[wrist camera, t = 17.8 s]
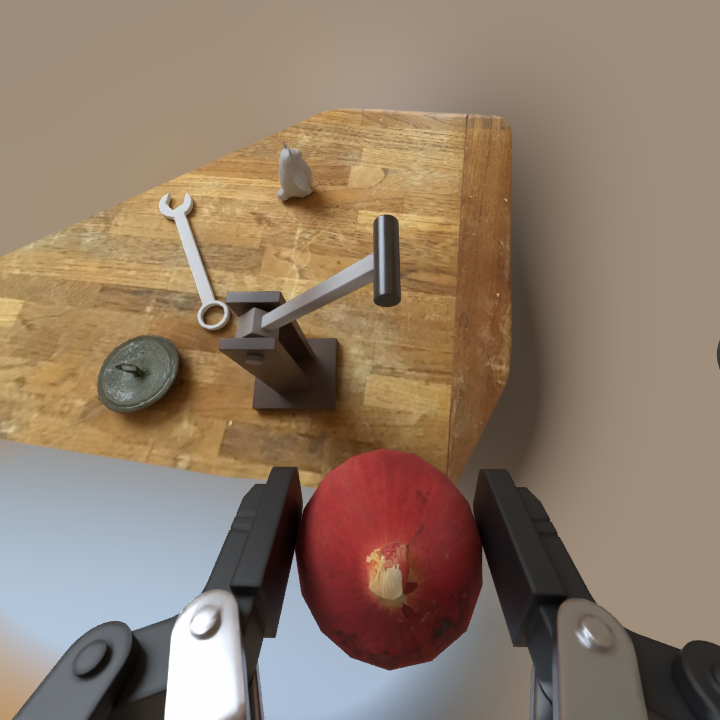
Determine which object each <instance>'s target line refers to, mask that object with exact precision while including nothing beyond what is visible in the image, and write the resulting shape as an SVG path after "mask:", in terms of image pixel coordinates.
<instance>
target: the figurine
mask: <svg viewBox="0 0 720 720" xmlns="http://www.w3.org/2000/svg"><path fill="white" fill-rule="evenodd" d="M283 144H284V147H285V148H284V149H283V151H282V152H281V154H280V160H279V179H280V183H281V188H280V190H279V192H278V198H279V199H281V200H287V199H288V198H289V197H291V196H297V197H300V198H303V197H305V196H307V195H309V194H310V193H311V192H314V191H312V190H313V188H310V187H311V185H312V181H313V178H312V173H311V170H310V168H309V166H308V165H307V163H306V162H305V160H304V159H303V158H302V154H301V153H300V151H299V150H294V149H291V148H288V147H287V146H286V144H285V141H284V143H283Z"/></svg>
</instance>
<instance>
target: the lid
mask: <svg viewBox="0 0 720 720" xmlns="http://www.w3.org/2000/svg"><path fill="white" fill-rule="evenodd" d="M179 359H180V358H179V353H178V350H177V348H176V347H175V345H174V344H173V343H172V342H171V341H170V340H169V339H166V338H163V337H160V336H154V335H141V336H138V337H135V338H132V339H129V340H128V341H126V342H125V343H123V344H121V345H120V346H118V347H116V348H115V349H114V350H113V351H112V352H111V353H110V354H109V355H108V357H107V358H106V359H105V361H104V363H103V365H102V367H101V370H100V373H99V375H98V382H97V388H98V394H99V398H100V400H101V402H102V403H103V404H104V405H105V406H106V407H107V408H108V409H110V410H113V411H114V412H119V413H129V412H136V411H139V410H142V409H144V408H147V407H149V406H151V405H152V404H154V403H155V402H157V401H158V400H160V399H161V398H162V397H163V396H164V395H165V394H166V393H167V392H168V391H169V389H170V387H171V386H172V384H173V383H174V380H175V378H176V376H177V373H178V368H179Z"/></svg>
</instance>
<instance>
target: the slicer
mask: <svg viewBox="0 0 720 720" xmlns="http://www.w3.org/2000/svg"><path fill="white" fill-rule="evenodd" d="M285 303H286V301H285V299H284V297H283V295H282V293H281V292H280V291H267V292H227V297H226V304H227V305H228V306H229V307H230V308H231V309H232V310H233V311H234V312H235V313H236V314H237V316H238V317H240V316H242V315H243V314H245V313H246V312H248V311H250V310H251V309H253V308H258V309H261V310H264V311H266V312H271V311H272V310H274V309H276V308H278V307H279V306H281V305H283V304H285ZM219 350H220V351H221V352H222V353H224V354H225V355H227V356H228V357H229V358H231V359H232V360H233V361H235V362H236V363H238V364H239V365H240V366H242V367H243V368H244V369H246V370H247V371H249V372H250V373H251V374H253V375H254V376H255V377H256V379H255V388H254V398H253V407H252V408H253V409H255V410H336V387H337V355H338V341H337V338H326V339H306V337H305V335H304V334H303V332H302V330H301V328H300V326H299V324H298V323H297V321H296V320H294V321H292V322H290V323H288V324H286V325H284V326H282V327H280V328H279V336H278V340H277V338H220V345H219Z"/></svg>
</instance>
